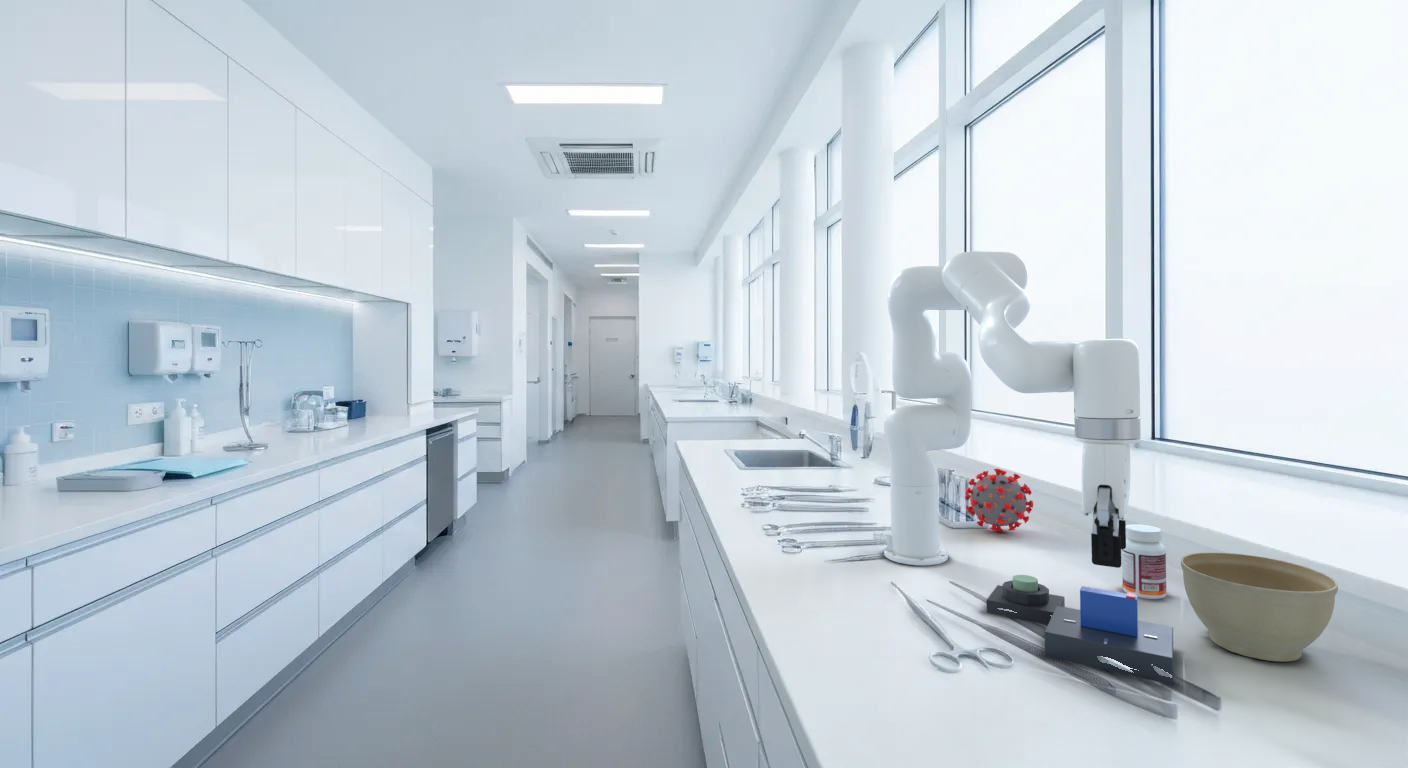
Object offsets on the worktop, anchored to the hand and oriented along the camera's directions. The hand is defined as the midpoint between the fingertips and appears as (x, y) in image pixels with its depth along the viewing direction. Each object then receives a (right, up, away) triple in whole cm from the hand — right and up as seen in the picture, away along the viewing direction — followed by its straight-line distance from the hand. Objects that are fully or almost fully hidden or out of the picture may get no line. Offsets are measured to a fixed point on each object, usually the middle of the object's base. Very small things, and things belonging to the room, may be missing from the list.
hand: (1109, 556), depth 85 cm
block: (-3, -13, +16) cm, 21 cm away
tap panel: (0, -14, +1) cm, 14 cm away
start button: (-3, -10, +16) cm, 19 cm away
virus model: (+14, -12, +62) cm, 65 cm away
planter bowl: (+21, -13, +1) cm, 25 cm away
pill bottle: (+20, -13, +22) cm, 32 cm away
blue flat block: (0, -10, 0) cm, 10 cm away
